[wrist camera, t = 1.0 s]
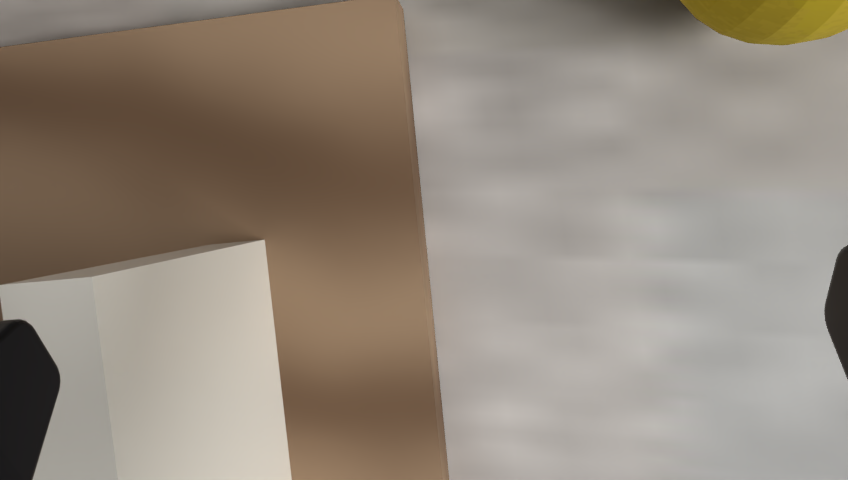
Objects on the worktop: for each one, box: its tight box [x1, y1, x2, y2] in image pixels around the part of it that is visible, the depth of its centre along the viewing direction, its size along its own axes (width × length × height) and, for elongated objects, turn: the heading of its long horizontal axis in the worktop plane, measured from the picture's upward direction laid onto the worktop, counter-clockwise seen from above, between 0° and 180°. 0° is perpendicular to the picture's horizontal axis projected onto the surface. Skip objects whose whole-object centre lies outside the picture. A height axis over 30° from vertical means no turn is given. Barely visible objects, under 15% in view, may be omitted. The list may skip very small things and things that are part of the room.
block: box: [0, 240, 292, 480], centre depth 15 cm, size 8×2×8 cm, turn 6°
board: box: [0, 0, 449, 480], centre depth 20 cm, size 20×18×2 cm
